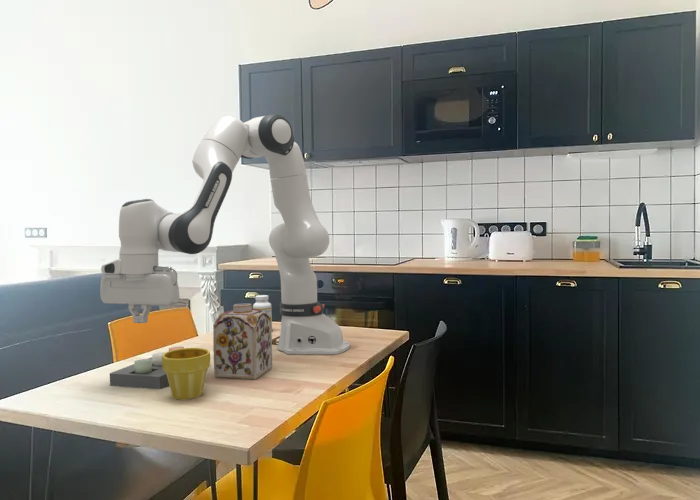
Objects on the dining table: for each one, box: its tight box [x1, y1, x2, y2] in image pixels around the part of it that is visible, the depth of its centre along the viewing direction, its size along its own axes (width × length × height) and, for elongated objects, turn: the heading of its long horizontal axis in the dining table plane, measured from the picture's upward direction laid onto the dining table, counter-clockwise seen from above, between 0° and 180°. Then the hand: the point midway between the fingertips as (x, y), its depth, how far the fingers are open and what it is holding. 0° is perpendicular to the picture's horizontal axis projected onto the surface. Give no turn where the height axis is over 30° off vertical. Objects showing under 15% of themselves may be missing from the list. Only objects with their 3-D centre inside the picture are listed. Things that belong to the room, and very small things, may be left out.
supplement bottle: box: [252, 294, 273, 331], centre depth 196 cm, size 7×7×13 cm
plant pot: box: [162, 347, 211, 401], centre depth 123 cm, size 10×10×10 cm
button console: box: [109, 356, 169, 390], centre depth 140 cm, size 14×21×3 cm, turn 164°
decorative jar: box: [212, 303, 273, 381], centre depth 141 cm, size 12×12×18 cm
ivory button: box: [151, 352, 165, 367], centre depth 140 cm, size 4×4×3 cm
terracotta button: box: [168, 346, 185, 351], centre depth 146 cm, size 4×4×3 cm
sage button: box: [133, 358, 152, 375], centre depth 133 cm, size 4×4×3 cm
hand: (140, 322), depth 132 cm, fingers closed
